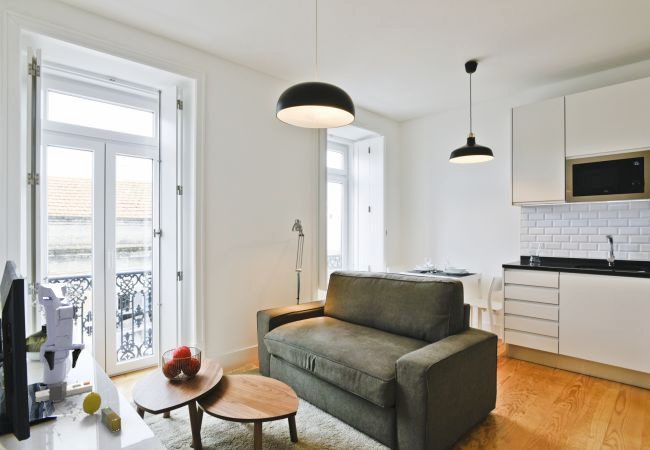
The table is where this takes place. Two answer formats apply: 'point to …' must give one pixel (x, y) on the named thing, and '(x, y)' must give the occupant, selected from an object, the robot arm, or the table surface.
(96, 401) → the lemon
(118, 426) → the medication box
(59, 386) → the block
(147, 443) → the table surface
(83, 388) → the power strip
